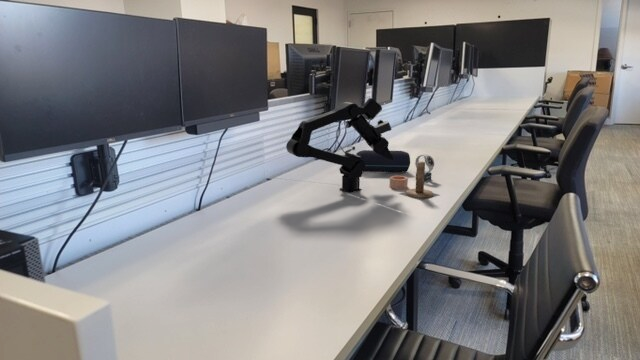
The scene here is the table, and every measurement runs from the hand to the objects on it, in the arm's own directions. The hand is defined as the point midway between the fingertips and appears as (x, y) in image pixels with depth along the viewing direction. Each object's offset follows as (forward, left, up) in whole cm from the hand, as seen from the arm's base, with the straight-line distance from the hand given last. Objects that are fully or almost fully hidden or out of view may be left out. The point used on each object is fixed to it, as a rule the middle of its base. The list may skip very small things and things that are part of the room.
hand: (390, 156), depth 178 cm
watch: (+21, 0, -13) cm, 25 cm away
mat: (+2, -14, -13) cm, 19 cm away
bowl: (+4, -1, -13) cm, 14 cm away
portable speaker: (+18, +22, -13) cm, 31 cm away
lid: (+2, -14, -13) cm, 19 cm away
